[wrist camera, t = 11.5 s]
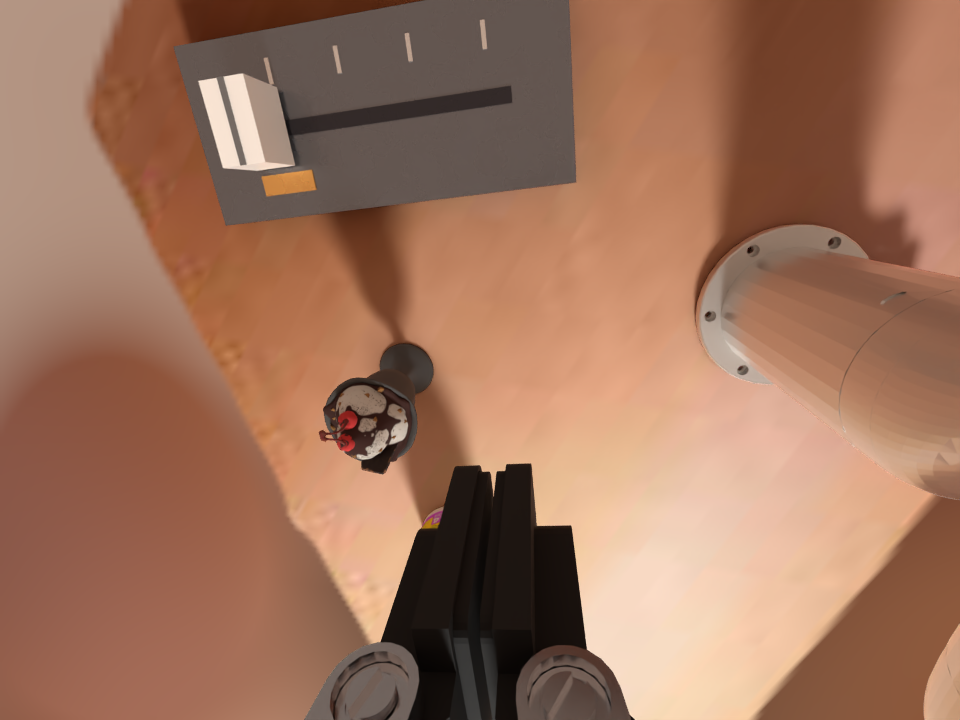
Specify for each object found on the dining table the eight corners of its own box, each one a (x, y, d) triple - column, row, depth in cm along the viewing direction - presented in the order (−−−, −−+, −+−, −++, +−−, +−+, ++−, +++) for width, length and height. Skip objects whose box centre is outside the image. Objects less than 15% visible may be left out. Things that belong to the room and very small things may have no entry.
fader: (276, 87, 31) (241, 72, 27) (295, 165, 33) (264, 162, 29) (237, 93, 32) (197, 80, 28) (257, 170, 33) (222, 168, 30)
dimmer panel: (564, -10, 30) (568, -27, 28) (572, 182, 34) (576, 182, 32) (198, 56, 34) (172, 46, 31) (244, 223, 38) (225, 225, 35)
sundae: (381, 323, 40) (300, 395, 26) (452, 350, 40) (411, 436, 26) (362, 386, 42) (279, 484, 28) (429, 412, 42) (380, 521, 28)
